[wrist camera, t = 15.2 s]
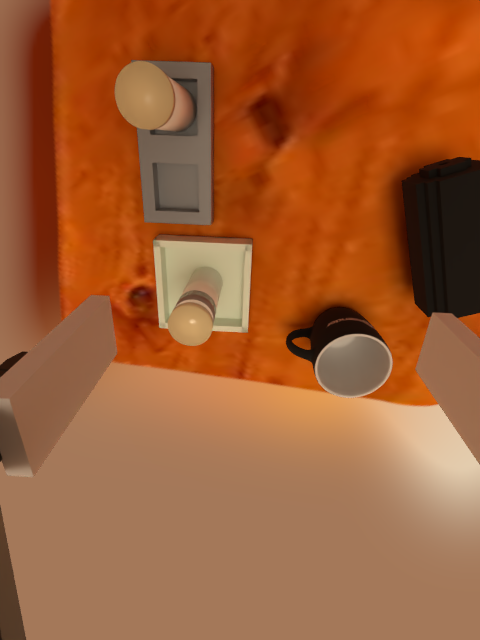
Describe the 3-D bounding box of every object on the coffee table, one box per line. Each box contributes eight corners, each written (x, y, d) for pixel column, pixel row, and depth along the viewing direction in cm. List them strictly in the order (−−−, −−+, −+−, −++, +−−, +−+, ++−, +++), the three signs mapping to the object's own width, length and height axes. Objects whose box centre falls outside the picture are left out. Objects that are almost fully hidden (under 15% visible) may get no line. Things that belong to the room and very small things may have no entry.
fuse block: (138, 64, 39) (85, 31, 27) (213, 67, 38) (193, 34, 27) (150, 218, 46) (112, 244, 34) (213, 221, 45) (197, 248, 34)
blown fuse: (188, 264, 47) (166, 304, 36) (223, 266, 47) (212, 307, 36) (189, 297, 50) (168, 344, 38) (223, 299, 49) (212, 347, 38)
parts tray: (159, 234, 46) (153, 240, 44) (252, 238, 46) (251, 244, 43) (164, 318, 52) (159, 327, 49) (248, 322, 51) (247, 332, 49)
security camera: (404, 309, 49) (435, 346, 40) (386, 170, 42) (421, 177, 33) (457, 296, 48) (502, 332, 39) (449, 150, 41) (503, 153, 32)
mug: (376, 301, 49) (402, 337, 40) (361, 357, 53) (382, 401, 44) (287, 293, 49) (294, 328, 40) (280, 350, 53) (284, 393, 44)
